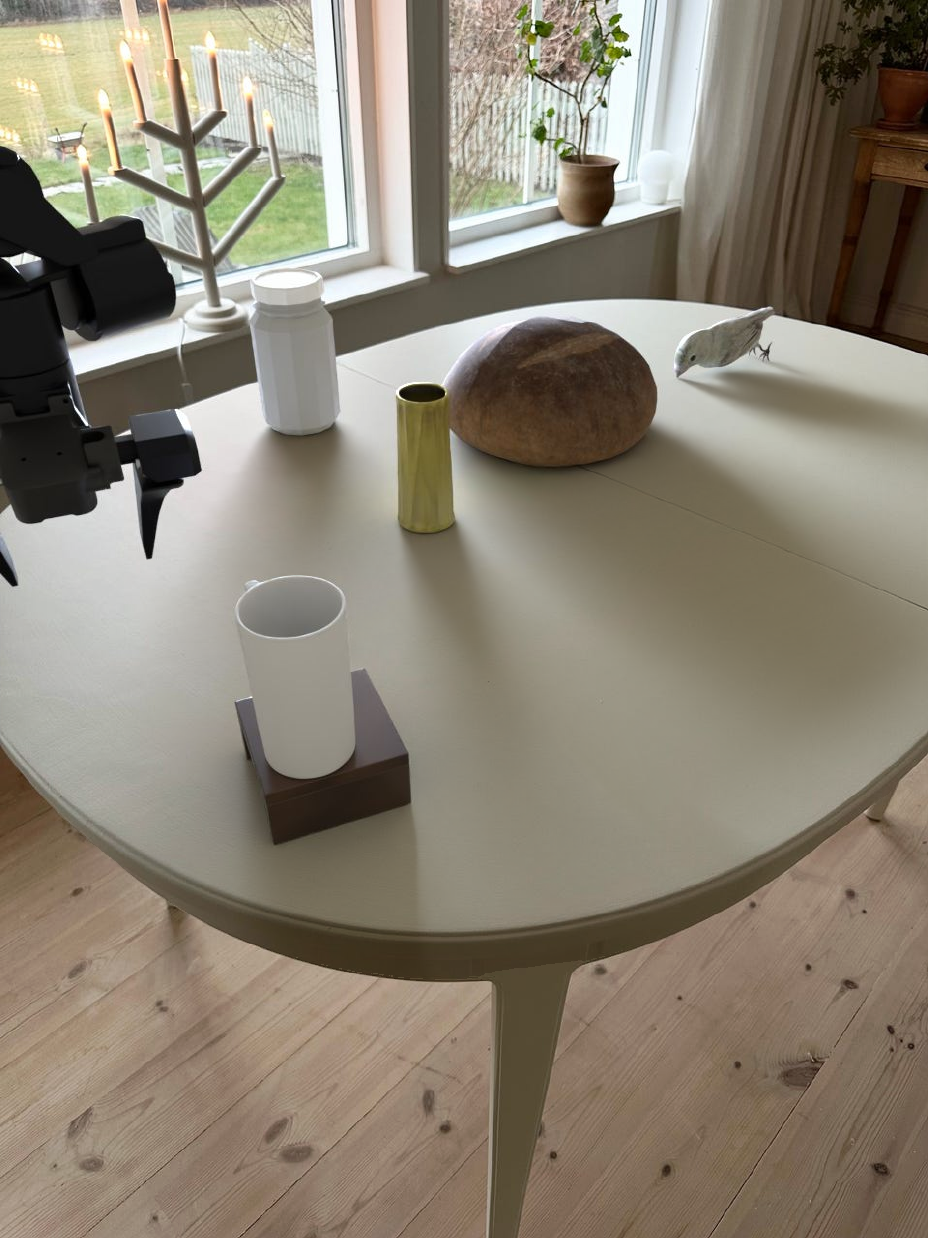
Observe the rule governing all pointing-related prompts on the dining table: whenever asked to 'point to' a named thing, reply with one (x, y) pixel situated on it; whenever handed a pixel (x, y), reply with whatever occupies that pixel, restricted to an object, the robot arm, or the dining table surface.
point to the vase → (424, 458)
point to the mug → (299, 673)
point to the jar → (294, 351)
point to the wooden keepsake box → (344, 794)
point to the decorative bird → (722, 342)
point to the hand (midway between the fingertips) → (83, 569)
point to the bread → (551, 393)
